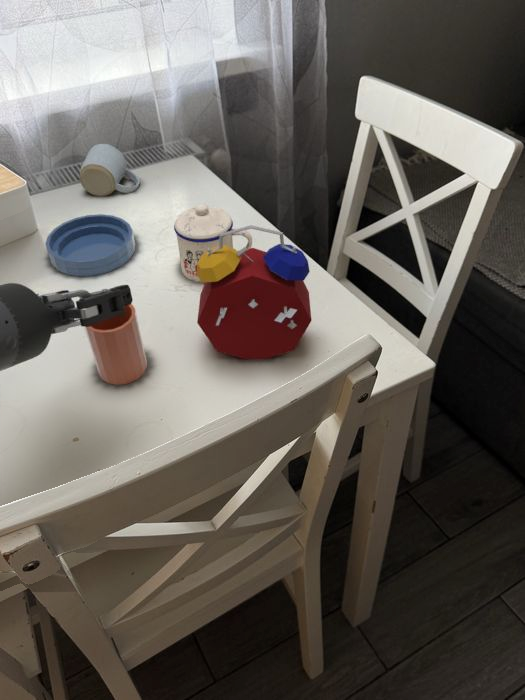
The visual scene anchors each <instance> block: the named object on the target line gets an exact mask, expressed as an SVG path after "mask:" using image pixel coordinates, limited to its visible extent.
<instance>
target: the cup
mask: <svg viewBox="0 0 525 700" xmlns="http://www.w3.org/2000/svg"><path fill="white" fill-rule="evenodd" d="M124 308H125V312H126V313H124V314H122V315H119V316H115V317H113V318H110V319H107V320H104V321H101V322H99V323H96V324H93V325H90V326H89V327H85V326H83V328H84V331H85V334H86V338H87V340H88V344H89V347H90V350H91V353H92V356H93V359H94V363H95V367H96V370H97V374H98V375H99V377H100V378H101V380H102V381H104V382H106V383H107V384H110V385H115V386H120V385H128V384H130V383H133V382H135V381H137V380H138V379H140V378H141V377H142V376H143V375H144V374H145V372H146V370H147V368H148V360H147V356H146V350H145V347H144V343H143V338H142V333H141V329H140V324H139V321H138V315H137V310H136V307H134V305H133V304H132V303H131V304H130V305H127V306H124Z"/></svg>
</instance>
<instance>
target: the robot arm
mask: <svg viewBox="0 0 525 700" xmlns="http://www.w3.org/2000/svg"><path fill="white" fill-rule="evenodd" d="M73 298H79V299H78V300H76V301H75V300H73ZM74 301H75V302H74ZM133 302H134V301H133V295H132V289H131V287H130V286H129V285H128V284H121V285H117V286H114V287H111V288H103V289H101V290H98V291H92V292H89V291H88V290H86V289H78V290H73V291H69V290H68V289H65V290H59V291H55V292H50V293H45V294H41V295H40V294H39V293H36V292H35V291H34V290H32V289H31V288H30V287H28V286H26V285H24V284H21V283H17V282H8V283H3V284H0V372H2V371H5V370H7V369H10V368H12V367H15V366H17V365H19V364H20V365H21V364H22V363H25V362H28V361H29V360H32V359H34V358H37V357H39V356H40V355H41V354H43V353H44V352H45V350H46V349H47V347H48V346H49V344H50V340H51V337H52V335H55V334H60V333H63V332H67V331H68V329H71V328H76V327H84V326H85V327H89V326H90V325H93V324H96V323H99V322H101V321H104V320H107V319H110V318H113V317H115V316H119V315H122V314H124V313H126V312H125V308H124V306H127V305H130V304H132V303H133Z"/></svg>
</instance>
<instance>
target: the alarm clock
mask: <svg viewBox="0 0 525 700" xmlns="http://www.w3.org/2000/svg"><path fill="white" fill-rule="evenodd" d="M235 229H236V230H232V231H228V232H225V233H221V234H219V246H214V247H213V248H211V249H210V248H209V249H207V250H208V251H206V252H205V253H203V254H202V256H201V258H200V259H199V261H198V263H197V273H196V274H197V276H198V278H199V279H200V281H201V282H200V283H201V284H202V283H204V282H205V283H204V285H203V287H202V289H201V292H200V295H199V305H198V313H197V321H196V323H197V325H198V327H199V328H200V329H201V330H202V332H203V333H204V335H205V337H206V338H207V340H208V341H209V342H210V344H211V345H212V346H213V348H214V350H215V351H216V352H218V353H220V354H224V355H228V356H231V357H236V358H240V359H243V360H268V359H270V358H274V357H277V356H280V355H283V354H286V353H290V352H294V351H295V350H296V348H297V347H298V345H299V343H300V341H301V339H302V338H303V336H304V335H305V333H306V331H307V329H308V328H309V326H310V324H311V323H312V311H311V300H310V292H309V289H308V287H307V285H306V283H305V282H304V281H305V280H306V278H307V277H308V275H309V273H310V272H311V271H310V266H309V260H308V258H307V257H306V255H305V253H304V252H303V251H302V250H300V249H299V248H297V246H294V245H292V244H285V238H284V232H282V231H277V230H274V229H268V228H265V227H260V226H256V225H247V226H243V227H240V228H235ZM251 229H252V230H256V231H259V232H264V233H269V234H275V235H277V236H279V239H280V240H279V243H278V244H277V245H274V246H272V247H270V248H269V249H268V250H267V251H264V250H262V249H258V248H256V247H251V249H248V250H247V249H246V246H244V247H243V248H240V250H237V249H235V248H234V247H233V248H231V247H229V246H226V245H223V236H226V235H229V234H233V233H236V232H240V231H244V230H246V231H247V230H251ZM237 251H239V252H237Z"/></svg>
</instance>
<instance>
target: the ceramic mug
mask: <svg viewBox="0 0 525 700" xmlns="http://www.w3.org/2000/svg"><path fill="white" fill-rule="evenodd" d="M127 167H128V165H127V160H126V157H125V156H124V154H123V153H122V152H121V151H120V150H119V149H118V148H116V147H114V146H113V145H111V144H109V143H98V144H95V145H93V146H92V147H91V148H90V149H89V151H88V153H87V154H86V157H85V159H84V160H83V163H82V164H81V167H80V169H79V183H80V184H81V186H82V188H83V189H84V190H85V191H86V192H87V193H89V195H90V194H91V195H93V196H95V197H106V196H109V195H111V194H112V193H113V192H114V191H118V192H120V193H124V194H130V193H132V192H135V191H136V190H137V189H138V188H139V186H140V182H141V180H140V178H139V177H138V175H137V174H136V173H134V172H133V171H132V170H130V169H129V168H127ZM124 176H125V177H127V178H129V179H130V180H132V181H133V182H134V183H135V184H134V185H133V186H127V185H123V184H120V183H121V180H122V179H123V178H124Z"/></svg>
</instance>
